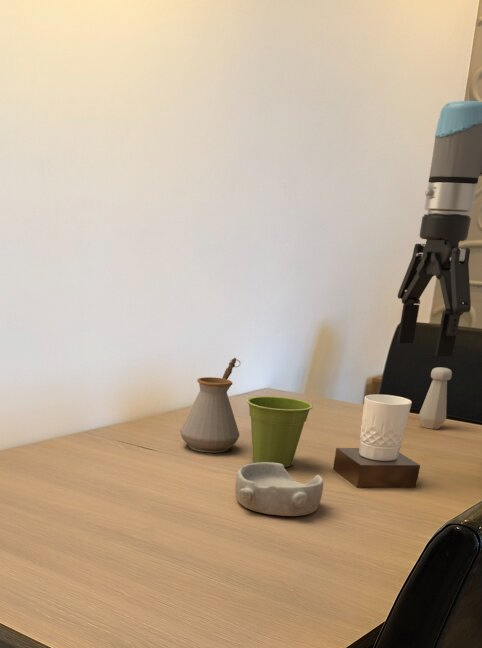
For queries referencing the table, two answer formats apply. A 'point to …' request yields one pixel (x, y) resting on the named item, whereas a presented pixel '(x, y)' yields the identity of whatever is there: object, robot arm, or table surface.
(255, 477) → the dish
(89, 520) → the table surface
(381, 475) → the riser
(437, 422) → the salt shaker
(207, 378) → the coffee pot
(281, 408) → the plant pot
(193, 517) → the table surface
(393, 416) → the white cup
